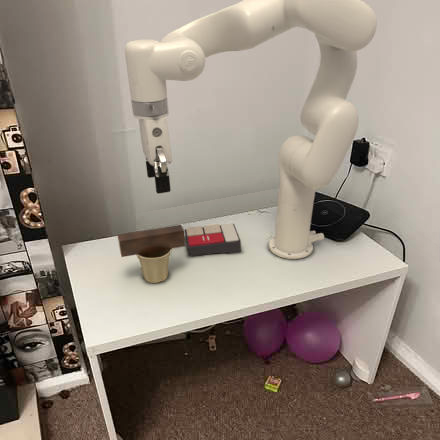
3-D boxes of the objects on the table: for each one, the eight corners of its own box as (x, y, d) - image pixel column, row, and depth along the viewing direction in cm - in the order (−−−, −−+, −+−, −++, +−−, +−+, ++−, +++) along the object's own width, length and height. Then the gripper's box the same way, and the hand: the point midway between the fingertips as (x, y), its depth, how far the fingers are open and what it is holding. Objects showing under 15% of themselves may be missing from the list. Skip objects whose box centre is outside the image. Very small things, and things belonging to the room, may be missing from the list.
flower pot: (172, 265, 120) (170, 237, 114) (175, 285, 112) (173, 256, 107) (137, 268, 118) (134, 240, 113) (138, 289, 111) (134, 260, 106)
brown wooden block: (181, 240, 113) (180, 224, 110) (185, 246, 111) (184, 230, 108) (119, 250, 109) (117, 234, 106) (121, 257, 107) (119, 240, 104)
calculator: (184, 226, 130) (233, 220, 131) (185, 239, 132) (234, 233, 133) (187, 245, 121) (240, 238, 122) (189, 258, 123) (241, 252, 125)
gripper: (177, 116, 87) (183, 196, 97) (158, 96, 100) (165, 169, 110) (140, 120, 85) (150, 201, 95) (125, 99, 98) (136, 173, 108)
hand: (158, 184), depth 103 cm, fingers open, 9 cm apart
